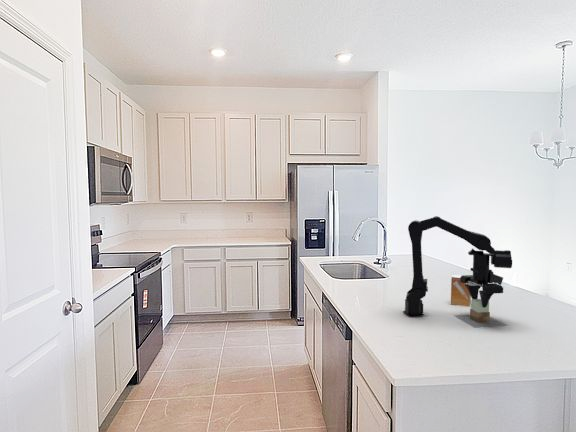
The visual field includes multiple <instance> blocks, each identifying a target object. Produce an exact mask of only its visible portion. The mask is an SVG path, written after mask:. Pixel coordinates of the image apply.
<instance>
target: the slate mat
mask: <svg viewBox="0 0 576 432" xmlns="http://www.w3.org/2000/svg"><path fill="white" fill-rule="evenodd" d="M453 317H455V318H457V319H458V320H460V321H462V322H464V323H465V324H467V325H469V326H471V327H472V328H474V329H475V328H479V329H480V328H493V327H494V328H495V327H496V328H497V327H508V326H509V325H508V324H506V323H504V322H502V321H500V320H498V319H495V318H493V317H492V316H490V322H484V323H477V322H475V321H473V320H472V319H470V314H454V315H453Z"/></svg>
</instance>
